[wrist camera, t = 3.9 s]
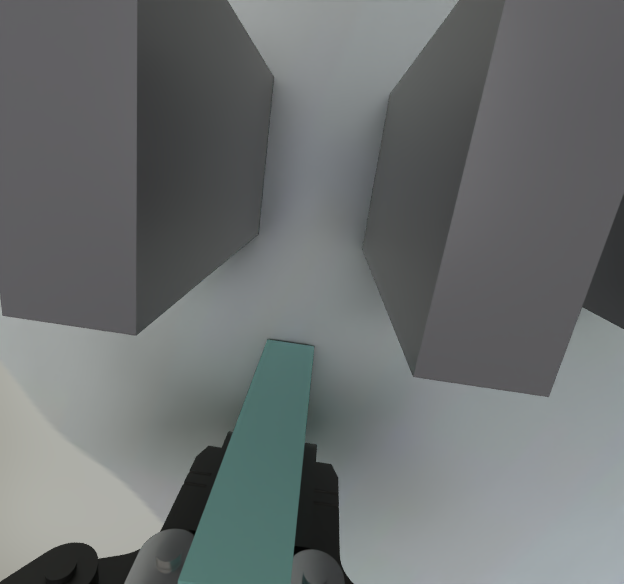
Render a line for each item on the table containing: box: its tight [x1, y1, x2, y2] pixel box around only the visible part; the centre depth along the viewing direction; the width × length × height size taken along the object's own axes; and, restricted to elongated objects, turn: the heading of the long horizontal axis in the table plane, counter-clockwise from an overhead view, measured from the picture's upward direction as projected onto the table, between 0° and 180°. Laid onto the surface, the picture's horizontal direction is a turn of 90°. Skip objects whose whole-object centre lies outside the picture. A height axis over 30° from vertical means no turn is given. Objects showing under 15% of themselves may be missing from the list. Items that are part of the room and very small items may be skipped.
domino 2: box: [178, 339, 314, 584], centre depth 11 cm, size 2×5×9 cm, turn 172°
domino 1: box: [0, 0, 274, 335], centre depth 9 cm, size 2×5×9 cm, turn 172°
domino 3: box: [362, 0, 624, 397], centre depth 9 cm, size 2×5×9 cm, turn 172°
